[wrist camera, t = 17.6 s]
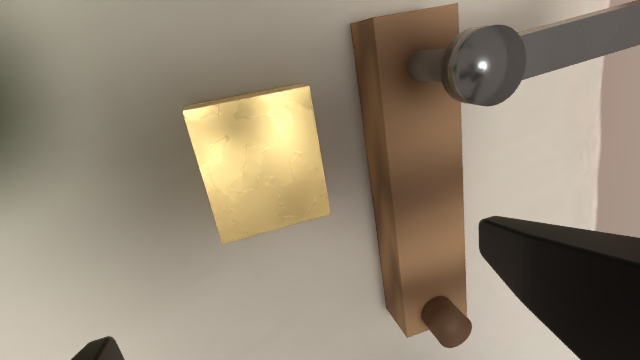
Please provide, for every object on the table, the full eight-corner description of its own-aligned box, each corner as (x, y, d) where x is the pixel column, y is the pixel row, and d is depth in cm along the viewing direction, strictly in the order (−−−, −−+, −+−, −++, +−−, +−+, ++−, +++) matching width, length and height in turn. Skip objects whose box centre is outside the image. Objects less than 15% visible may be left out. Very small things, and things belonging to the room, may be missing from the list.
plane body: (440, 289, 27) (507, 356, 21) (386, 308, 26) (439, 383, 20) (424, 11, 20) (515, -11, 14) (350, 24, 19) (413, 6, 13)
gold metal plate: (318, 198, 22) (331, 214, 20) (221, 224, 21) (222, 244, 19) (298, 83, 20) (309, 86, 17) (186, 105, 19) (182, 111, 16)
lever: (688, -29, 15) (724, -36, 14) (679, 39, 16) (712, 37, 15) (437, 37, 13) (456, 35, 12) (444, 110, 14) (463, 114, 13)
